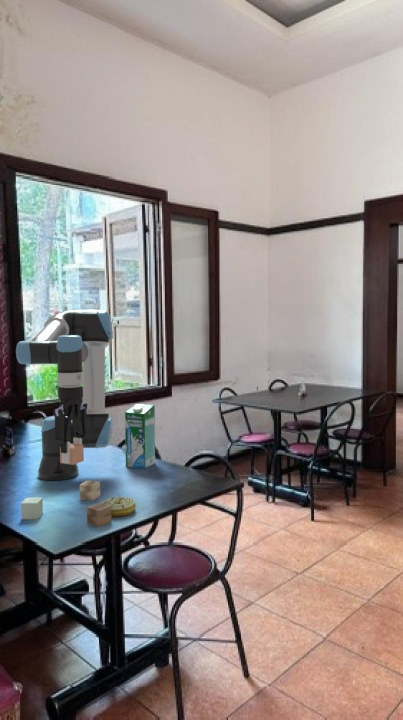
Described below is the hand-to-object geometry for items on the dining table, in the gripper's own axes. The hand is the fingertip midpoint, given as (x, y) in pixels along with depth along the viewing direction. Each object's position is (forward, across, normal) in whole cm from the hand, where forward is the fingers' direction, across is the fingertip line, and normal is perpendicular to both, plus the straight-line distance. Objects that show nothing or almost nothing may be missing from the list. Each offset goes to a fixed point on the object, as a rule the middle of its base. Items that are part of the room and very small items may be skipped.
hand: (72, 460), depth 159 cm
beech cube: (+17, +14, +4) cm, 22 cm away
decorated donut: (+17, +7, -12) cm, 22 cm away
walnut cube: (+17, -3, -12) cm, 21 cm away
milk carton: (+17, +55, +9) cm, 58 cm away
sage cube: (+17, -7, +10) cm, 21 cm away
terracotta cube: (0, 0, 0) cm, 0 cm away
